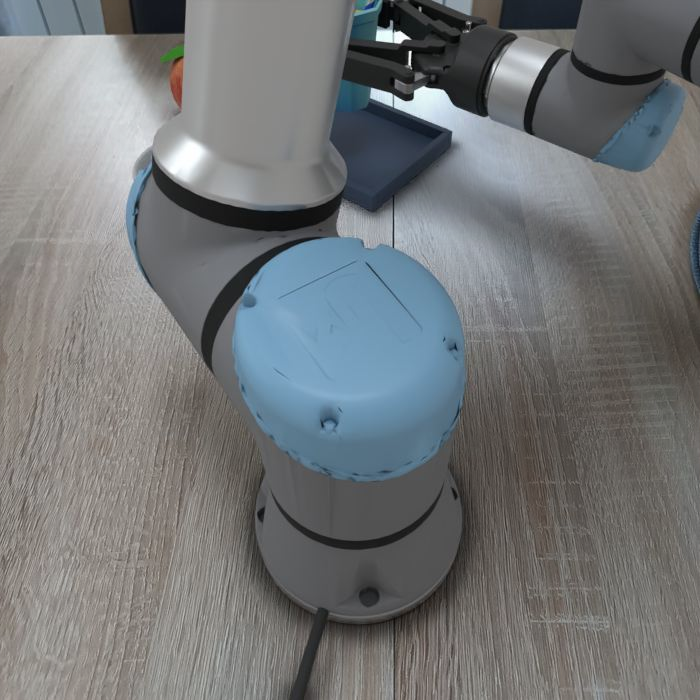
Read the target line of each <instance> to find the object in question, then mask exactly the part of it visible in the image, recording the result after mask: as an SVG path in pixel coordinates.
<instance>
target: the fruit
mask: <svg viewBox="0 0 700 700" xmlns="http://www.w3.org/2000/svg"><path fill="white" fill-rule="evenodd" d="M159 60H160V61H159V62H160V63H162V64H163V63H166V62H168V61H171V60H173V61H172V65H171V69H170V73H169V87H170V92H171V94H172V97H173V100H174V102H175V104H176V105H177V106H178V108H179V109H181V108H182V85H183V63H184V44H181V45H178V46H175V47H173V48H172V49H170V50H169V51H168V52H167V53H165V54H164V55H163V56H162V57H161V58H160V59H159Z"/></svg>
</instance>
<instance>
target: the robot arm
mask: <svg viewBox="0 0 700 700" xmlns="http://www.w3.org/2000/svg"><path fill="white" fill-rule="evenodd" d="M356 4H357V0H185V20H184V41H183V42H184V43H183V45H184V63H183V85H182V108H180V110H181V111H180V112H179V113H178V114H176V115H175V116H173V117H172V118H171V119H169V120H168V121H166V122H165V123H164V124H162V125H161V126H159V128H158V129H157V130H156V132H155V134H154V136H153V140H152V141H153V142H152V145H153V147H152V156H151V160H152V161H151V163H150V164H149V165H148V167H147V168H146V169H140V170H139V172H138V174H137V176H136V178H135V180H133V182H132V184H131V186H130V189H129V193H128V197H127V201H126V207H125V226H126V234H127V238H128V242H129V245H130V248H131V251H132V252H133V255H134V259H135V261H136V264H137V267H138V269H139V271H140V273H141V275H142V277H143V278H144V279H145V280H146V283H147V284H148V285H149V288H151V289H152V291H153V292H154V293H155V294H156V295H157V297H158V298H159V299H160V300H161V302H162V303H163V304H164V307H166V309H167V310H168V312H169V313H170V315H171V316H172V317H173V319H174V321H175V322H176V323H177V325H178V326H179V327H180V329H181V331H182V332H183V333H184V336H186V338H187V340H188V341H189V342H190V344H191V345H192V347H193V348H194V350H195V351H196V353H197V354H198V356H199V357H200V359H201V360H202V361H203V363H204V364H205V366H206V368H207V369H208V371H210V372H211V374H212V376H213V377H214V378H215V380H216V381H217V383H218V384H219V386H220V387H221V389H222V391H223V392H224V394H225V395H226V396H227V398H228V400H229V402H230V403H231V405H232V406H233V407H234V409H235V410H236V412H237V413H238V415H239V416H240V418H241V419H242V421H243V422H244V424H245V425H246V427H247V428H248V430H249V433H250V434H251V436H252V437H253V438H252V439H253V440H254V441H255V443H256V447H257V448H258V451H259V453H260V455H261V456H260V457H261V461H262V465H263V467H264V472H265V474H264V476H263V479H262V482H261V484H260V487H259V491H258V494H257V498H256V504H255V509H254V532H255V538H256V542H257V545H258V549H259V552H260V555H261V558H262V561H263V564H264V566H265V568H266V570H267V572H268V574H269V575H270V577H271V579H272V580H273V582H274V583H275V585H276V586H277V587H278V588H279V589H280V591H281V592H282V593H283V594H284V595H285V596H286V597H287V598H288V599H290V601H292V602H293V603H294V604H296V605H297V606H298V607H300V608H301V609H303V610H305V611H307V612H308V613H310V614H312V615H314V616H315V617H314V618H313V619H314V620H313V623H312V626H311V628H310V632H309V634H308V639H307V642H306V644H305V648H304V651H303V655H302V658H301V661H300V665H299V668H298V671H297V675H296V679H295V681H294V684H293V688H292V689H291V693H290V696H289V699H288V700H303V699H304V696H305V693H306V689H307V686H308V683H309V680H310V676H311V673H312V669H313V667H314V666H313V665H314V663H315V659H316V655H317V652H318V649H319V647H320V646H319V645H320V643H321V639H322V637H323V632H324V629H325V626H326V624H327V621H332V622H336V623H342V624H348V625H368V624H376V623H383V622H385V621H390V620H393V619H395V618H398V617H400V616H403V615H406V614H407V613H409V612H411V611H412V610H414V609H416V608H417V607H419V606H420V605H422V604H423V603H424V602H426V600H428V599H429V598H430V597H431V596H432V595H433V594H434V593H435V592H436V591H437V590H438V589H439V588H440V586H441V585H442V583H444V581H445V579H446V577H447V576H448V575H449V573H450V571H451V569H452V566H453V565H454V562H455V559H456V557H457V554H458V549H459V546H460V542H461V537H462V532H463V507H462V502H461V497H460V494H459V489H458V487H457V484H456V481H455V478H454V477H453V475H452V473H451V470H450V469H449V467H448V466H449V462H450V457H451V453H452V448H453V444H454V439H455V434H456V430H457V425H458V421H459V418H460V415H461V412H462V408H463V406H464V404H463V403H464V399H465V398H464V393H465V392H464V391H465V389H466V387H467V386H466V384H467V376H466V365H465V356H466V345H465V343H466V342H465V335H464V329H463V325H462V322H461V318H460V315H459V312H458V310H457V308H456V306H455V304H454V301H453V300H452V297H451V296H450V294H449V293H448V291H447V289H446V288H445V287H444V285H442V283H441V282H440V280H439V279H437V277H436V276H435V275H434V274H433V273H432V272H431V271H429V269H428V268H427V267H425V266H424V265H423V264H422V263H421V262H419V261H418V260H416V259H415V258H414V257H411V256H410V255H408V254H407V253H405V252H403V251H402V250H399V249H397V248H395V247H393V246H390V245H388V244H385V243H380V244H378V245H377V246H376V247H375V248H369V247H365V243H364V242H365V241H364V240H363V239H362V238H358V237H353V236H351V237H350V236H340V235H339V232H338V227H337V226H338V225H337V224H338V219H339V215H340V211H341V206H342V202H343V192H344V188H345V184H346V180H347V167H346V164H345V161H344V160H343V158H342V156H341V155H340V154H339V152H338V151H337V149H336V148H335V147H334V145H333V144H332V143H331V141H330V140H329V138H330V133H331V128H332V123H333V118H334V113H335V108H336V103H337V98H338V93H339V88H340V83H341V79H342V80H346V81H349V82H353V83H356V84H360V85H363V86H367V87H370V88H371V89H375V90H378V91H381V92H385V93H388V94H391V95H393V96H395V97H396V98H398V99H400V100H401V101H402V102H412V101H413V100H414V98H415V91H417V90H419V89H421V88H423V87H425V88H427V89H432V90H433V89H435V90H440V91H444V92H445V94H446V95H447V98H449V100H450V102H451V104H452V105H453V106H454V107H455V108H457V109H460V110H462V111H464V112H468V113H470V114H472V115H476V116H478V117H480V118H487V117H488V118H489V119H490V120H491V121H493V122H496V123H498V124H501V125H503V126H507V127H509V128H513V129H515V130H517V131H520V132H521V133H526V134H528V135H529V136H532V137H534V138H536V139H538V140H539V139H540V140H542V141H545V142H547V143H550V144H552V145H554V146H557V147H559V148H562V149H565V150H567V151H569V152H572V153H574V154H577V155H579V156H582V157H585V158H587V159H590V160H591V162H593V163H600V164H603V165H606V166H609V167H611V168H614V169H618V170H623V171H627V172H630V173H640V172H643V171H646V170H647V169H648V168H650V167H651V166H652V165H653V164H654V163H655V162H656V161H657V159H658V158H659V156H661V154H662V153H663V151H664V150H665V147H666V146H667V145H668V143H669V141H670V140H671V138H672V135H673V134H674V131H675V130H676V128H677V125H678V123H679V121H680V118H681V116H682V113H683V110H684V104H685V103H686V99H687V93H686V90H685V89H684V87H683V86H681V85H680V84H677V83H675V82H674V81H672V79H669V78H665V75H666V73H667V72H668V73H670V74H672V75H674V76H676V77H678V78H680V79H682V80H683V81H686V82H688V83H690V84H692V85H694V86H696V87H698V88H700V0H582V2H581V6H580V12H579V15H578V20H577V24H576V29H575V33H574V38H573V42H572V46H571V50H569V49H565V48H563V47H561V46H557V45H554V44H551V43H548V42H545V41H541V40H538V39H535V38H531V37H529V36H525V35H522V36H519V37H518V35H517V34H516V33H514V32H511V31H508V30H505V29H502V28H499V27H496V26H492V25H489V24H488V19H486V18H484V17H480V16H475V15H469V14H466V13H464V12H461V11H459V10H457V9H454V8H451V7H450V6H447V5H445V4H442V3H440V2H437V1H435V0H383V1H382V8H381V11H380V13H379V15H378V24H377V27H379V28H381V29H384V30H387V29H388V28H390V27H391V21H392V34H395V33H398V32H401V33H402V34H404V35H405V36H406V37H407V38H404V39H403V40H402V41H401V42H400V43H399V42H389V41H383V40H382V41H381V40H376V41H373V40H365V39H356V38H350V34H351V29H352V24H353V19H354V14H355V9H356ZM420 9H421V10H420ZM408 38H409V39H408ZM410 52H411V53H410ZM409 62H410V63H409Z"/></svg>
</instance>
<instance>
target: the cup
mask: <svg viewBox="0 0 700 700" xmlns="http://www.w3.org/2000/svg"><path fill="white" fill-rule="evenodd" d="M382 1H383V0H357V4H356V9H355V14H354V19H353V24H352V29H351V34H350V38H356V39H365V40H373V41H377V34H378V33H377V32H378V26H377V24H378V15H379V13H380V11H381V8H382ZM371 94H372V88H370V87H367V86H363V85H360V84H356V83H353V82H349V81H346V80H342V79H341V83H340V88H339V93H338V98H337V103H336V108H335V111H344V112H353V111H356V110H359V109H362V108H366V107H367V105H368V102H369V100H370V98H371Z"/></svg>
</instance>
